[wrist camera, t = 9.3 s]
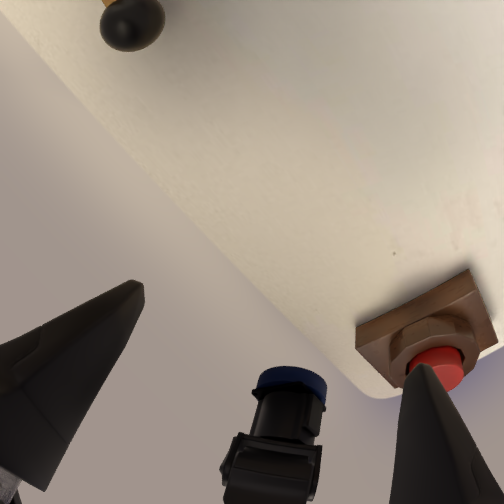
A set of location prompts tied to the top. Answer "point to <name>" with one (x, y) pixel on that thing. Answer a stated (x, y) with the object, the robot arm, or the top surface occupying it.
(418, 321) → the button block
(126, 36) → the lever
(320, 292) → the top surface
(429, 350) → the button
